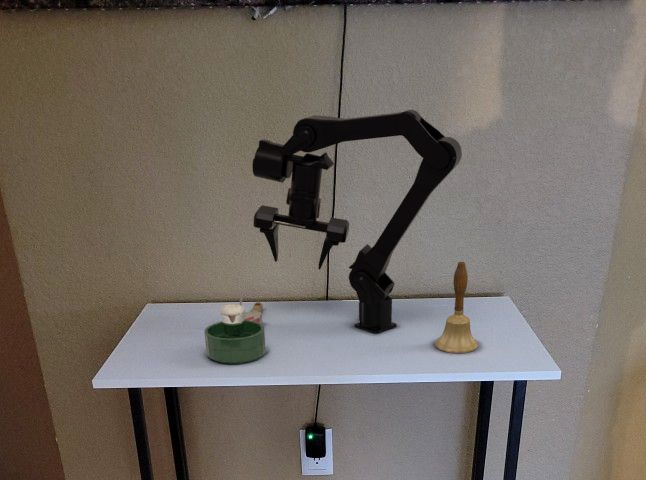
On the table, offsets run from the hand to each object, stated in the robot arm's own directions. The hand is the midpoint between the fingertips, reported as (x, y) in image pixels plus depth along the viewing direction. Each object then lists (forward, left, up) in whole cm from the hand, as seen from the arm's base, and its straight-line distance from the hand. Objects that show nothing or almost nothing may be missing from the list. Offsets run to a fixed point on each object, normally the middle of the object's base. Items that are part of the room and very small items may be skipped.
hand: (297, 264), depth 156 cm
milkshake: (-8, +23, -11) cm, 26 cm away
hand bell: (-35, -10, -12) cm, 38 cm away
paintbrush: (+4, +10, -12) cm, 16 cm away
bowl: (-8, +23, -11) cm, 27 cm away
